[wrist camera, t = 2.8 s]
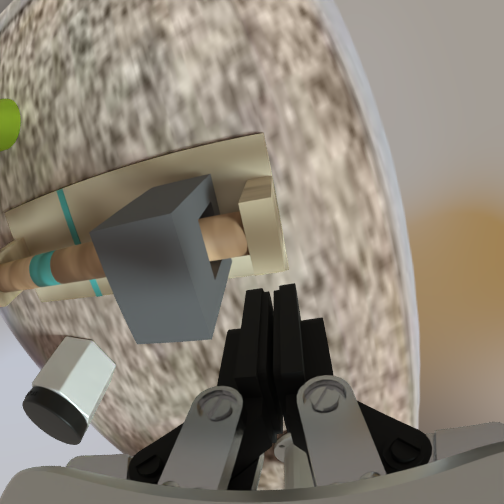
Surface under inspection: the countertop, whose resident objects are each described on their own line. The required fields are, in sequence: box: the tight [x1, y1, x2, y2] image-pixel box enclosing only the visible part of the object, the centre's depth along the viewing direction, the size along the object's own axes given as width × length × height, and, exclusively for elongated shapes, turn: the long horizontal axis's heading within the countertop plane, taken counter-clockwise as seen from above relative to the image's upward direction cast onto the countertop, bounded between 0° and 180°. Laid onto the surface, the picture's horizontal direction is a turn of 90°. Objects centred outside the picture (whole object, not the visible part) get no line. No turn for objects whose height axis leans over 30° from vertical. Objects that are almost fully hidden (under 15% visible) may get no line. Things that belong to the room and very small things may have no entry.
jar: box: [23, 336, 116, 445], centre depth 31 cm, size 9×8×12 cm
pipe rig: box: [0, 133, 289, 307], centre depth 25 cm, size 12×30×8 cm, turn 102°
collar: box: [89, 174, 232, 344], centre depth 21 cm, size 8×5×10 cm, turn 12°
